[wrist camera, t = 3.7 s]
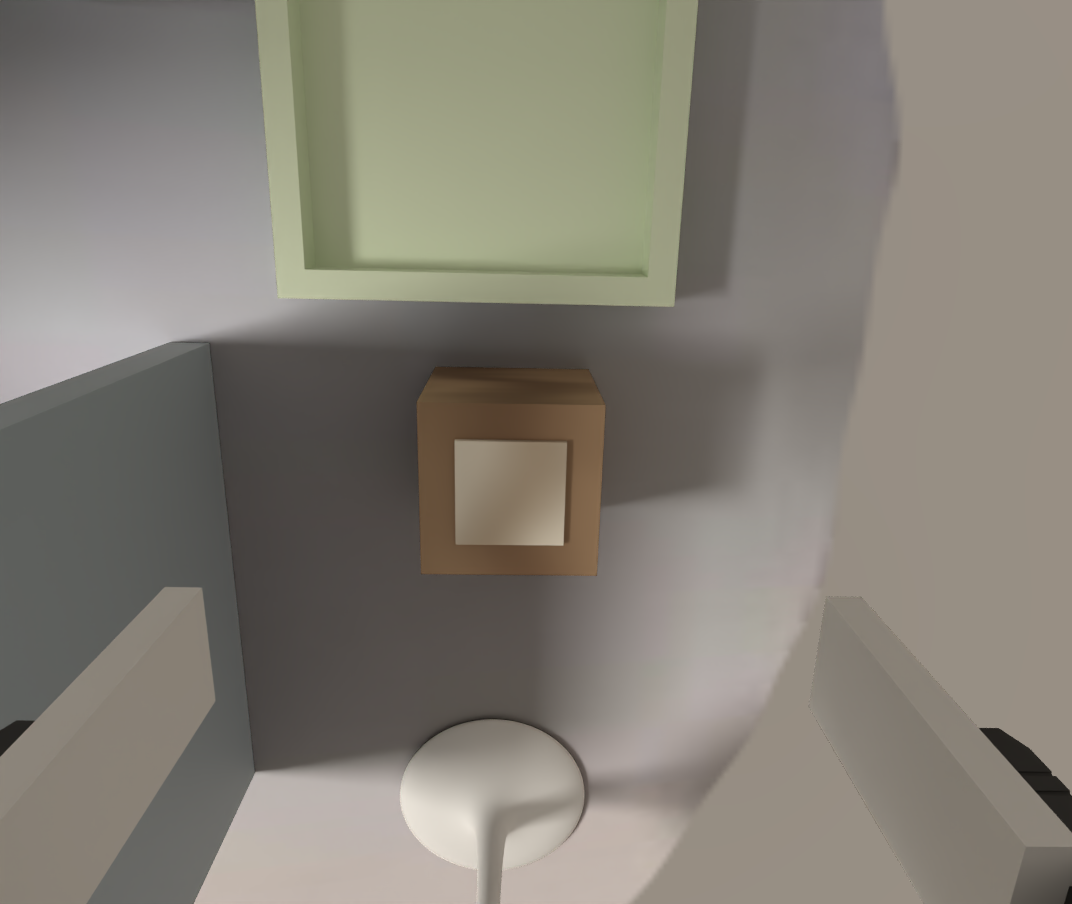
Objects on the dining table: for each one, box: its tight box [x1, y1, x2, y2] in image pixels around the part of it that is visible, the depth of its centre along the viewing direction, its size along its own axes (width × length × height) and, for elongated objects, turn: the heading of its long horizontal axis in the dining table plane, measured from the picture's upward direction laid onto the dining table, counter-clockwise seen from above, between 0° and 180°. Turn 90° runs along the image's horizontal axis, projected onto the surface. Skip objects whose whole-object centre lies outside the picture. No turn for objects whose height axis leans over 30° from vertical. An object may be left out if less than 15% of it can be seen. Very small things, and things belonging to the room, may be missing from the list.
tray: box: [255, 0, 698, 307], centre depth 25 cm, size 14×14×2 cm
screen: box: [0, 342, 255, 904], centre depth 24 cm, size 20×2×16 cm, turn 179°
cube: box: [417, 367, 606, 576], centre depth 27 cm, size 6×6×6 cm
